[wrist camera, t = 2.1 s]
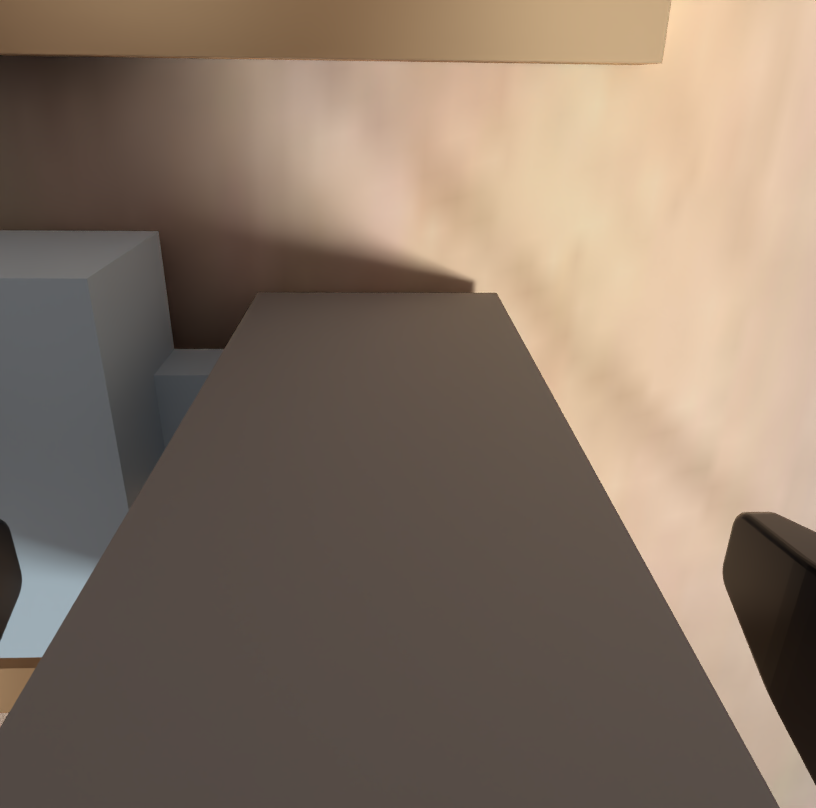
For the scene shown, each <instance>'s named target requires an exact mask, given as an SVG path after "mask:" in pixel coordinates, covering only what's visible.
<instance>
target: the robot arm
mask: <svg viewBox="0 0 816 808" xmlns="http://www.w3.org/2000/svg"><path fill="white" fill-rule="evenodd" d="M723 580H724V584H725V587H726V590H727V592H728V595H729V597H730V600H731V602H732V605H733V608H734V610H735V613H736V615H737V618H738V620H739V623H740V625H741V628H742V630H743V633H744V635H745V638H746V640H747V643H748V645H749V648H750V650H751V653H752V656H753V658H754V661H755V663H756V666H757V668H758V671H759V673H760V676H761V678H762V680H763V683H764V685H765V687H766V690H767V692H768V694H769V696H770V698H771V700H772V702H773V704H774V706H775V708H776V710H777V712H778V714H779V716H780V718H781V720H782V722H783V724H784V726H785V728H786V729H787V731H788V733H789V735H790V737H791V739H792V741H793V743H794V745H795V747H796V749H797V750H798V752H799V754H800V756H801V758H802V760H803V762H804V764H805V766H806V768H807V770H808V772H809V773H810V775H811V777H812V779H813V781H814V783H815V785H816V532H814V531H812V530H810V529H808V528H806V527H804V526H802V525H799V524H797V523H795V522H793V521H791V520H789V519H787V518H785V517H782V516H780V515H778V514H776V513H772V512H744V513H741V514H740V515H738V516H737V517H736V519H735V521H734V523H733V527H732V531H731V535H730V539H729V543H728V547H727V551H726V555H725V559H724V563H723ZM21 587H22V573H21V569H20V565H19V561H18V557H17V553H16V550H15V546H14V542H13V538H12V535H11V531H10V528H9V526H8V525H7V523H6V522H5V521H3V520H1V519H0V641H1V639H2V636H3V634H4V631H5V629H6V627H7V624H8V622H9V619H10V617H11V614H12V612H13V610H14V607H15V605H16V602H17V600H18V597H19V595H20V591H21Z"/></svg>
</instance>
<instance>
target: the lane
mask: <svg viewBox="0 0 816 808" xmlns="http://www.w3.org/2000/svg"><path fill="white" fill-rule="evenodd" d="M670 6H671V0H0V56H68V57H136V58H204V59H272V60H340V61H408V62H476V63H544V64H612V65H644V64H657V63H662V61H663V54H664V47H665V40H666V34H667V27H668V20H669V13H670ZM41 658H42V657H31V658H0V713H9V712H10V710H11V709H12V707H13V705H14V704H15V702H16V700H17V699H18V697H19V695H20V693H21V692H22V690H23V688H24V687H25V685H26V683H27V682H28V680H29V678H30V677H31V675H32V673H33V671H34V670H35V668H36V666H37V665H38V663H39V661H40V660H41Z"/></svg>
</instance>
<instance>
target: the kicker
mask: <svg viewBox="0 0 816 808" xmlns="http://www.w3.org/2000/svg"><path fill="white" fill-rule="evenodd" d="M0 519H1V520H3V521H5V522H6V523H7V525H8V526H9V528H10V531H11V535H12V538H13V542H14V546H15V550H16V553H17V557H18V561H19V565H20V569H21V573H22V587H21V591H20V595H19V597H18V600H17V602H16V605H15V607H14V610H13V612H12V614H11V617H10V619H9V622H8V624H7V627H6V629H5V631H4V634H3V636H2V639H1V641H0V658H31V657H42V658H41V660H40V661H39V663H38V665H37V666H36V668H35V670H34V671H33V673H32V675H31V677H30V678H29V680H28V682H27V683H26V685H25V687H24V688H23V690H22V692H21V693H20V695H19V697H18V699H17V700H16V702H15V704H14V705H13V707H12V709H11V710H10V712H9V714H8V715H7V717H6V719H5V721H4V722H3V724H2V726H1V727H0V808H779V806H778V804H777V802H776V800H775V798H774V797H773V795H772V793H771V791H770V789H769V788H768V786H767V784H766V782H765V780H764V778H763V777H762V775H761V773H760V771H759V769H758V768H757V766H756V764H755V762H754V760H753V758H752V757H751V755H750V753H749V751H748V749H747V748H746V746H745V744H744V742H743V740H742V738H741V737H740V735H739V733H738V731H737V729H736V728H735V726H734V724H733V722H732V720H731V718H730V717H729V715H728V713H727V711H726V709H725V708H724V706H723V704H722V702H721V700H720V698H719V697H718V695H717V693H716V691H715V689H714V688H713V686H712V684H711V682H710V680H709V678H708V677H707V675H706V673H705V671H704V669H703V668H702V666H701V664H700V662H699V660H698V658H697V657H696V655H695V653H694V651H693V649H692V648H691V646H690V644H689V642H688V640H687V638H686V637H685V635H684V633H683V631H682V629H681V628H680V626H679V624H678V622H677V620H676V618H675V617H674V615H673V613H672V611H671V609H670V608H669V606H668V604H667V602H666V600H665V598H664V597H663V595H662V593H661V591H660V589H659V588H658V586H657V584H656V582H655V580H654V579H653V577H652V575H651V573H650V571H649V569H648V568H647V566H646V564H645V562H644V560H643V559H642V557H641V555H640V553H639V551H638V549H637V548H636V546H635V544H634V542H633V540H632V539H631V537H630V535H629V533H628V531H627V529H626V528H625V526H624V524H623V522H622V520H621V519H620V517H619V515H618V513H617V511H616V509H615V508H614V506H613V504H612V502H611V500H610V499H609V497H608V495H607V493H606V491H605V489H604V488H603V486H602V484H601V482H600V480H599V479H598V477H597V475H596V473H595V471H594V469H593V468H592V466H591V464H590V462H589V460H588V459H587V457H586V455H585V453H584V451H583V449H582V448H581V446H580V444H579V442H578V440H577V439H576V437H575V435H574V433H573V431H572V429H571V428H570V426H569V424H568V422H567V420H566V419H565V417H564V415H563V413H562V411H561V409H560V408H559V406H558V404H557V402H556V400H555V399H554V397H553V395H552V393H551V391H550V389H549V388H548V386H547V384H546V382H545V380H544V379H543V377H542V375H541V373H540V371H539V369H538V368H537V366H536V364H535V362H534V360H533V359H532V357H531V355H530V353H529V351H528V349H527V348H526V346H525V344H524V342H523V340H522V339H521V337H520V335H519V333H518V331H517V329H516V328H515V326H514V324H513V322H512V320H511V319H510V317H509V315H508V313H507V311H506V309H505V308H504V306H503V304H502V302H501V300H500V299H499V297H498V295H497V293H298V292H258V293H257V294H256V296H255V298H254V300H253V301H252V303H251V305H250V306H249V308H248V310H247V311H246V313H245V315H244V316H243V318H242V320H241V322H240V323H239V325H238V327H237V328H236V330H235V332H234V333H233V335H232V337H231V338H230V340H229V342H228V344H227V345H226V347H225V349H174V343H173V336H172V328H171V321H170V313H169V306H168V298H167V291H166V283H165V276H164V268H163V261H162V253H161V246H160V239H159V231H44V230H0Z"/></svg>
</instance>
